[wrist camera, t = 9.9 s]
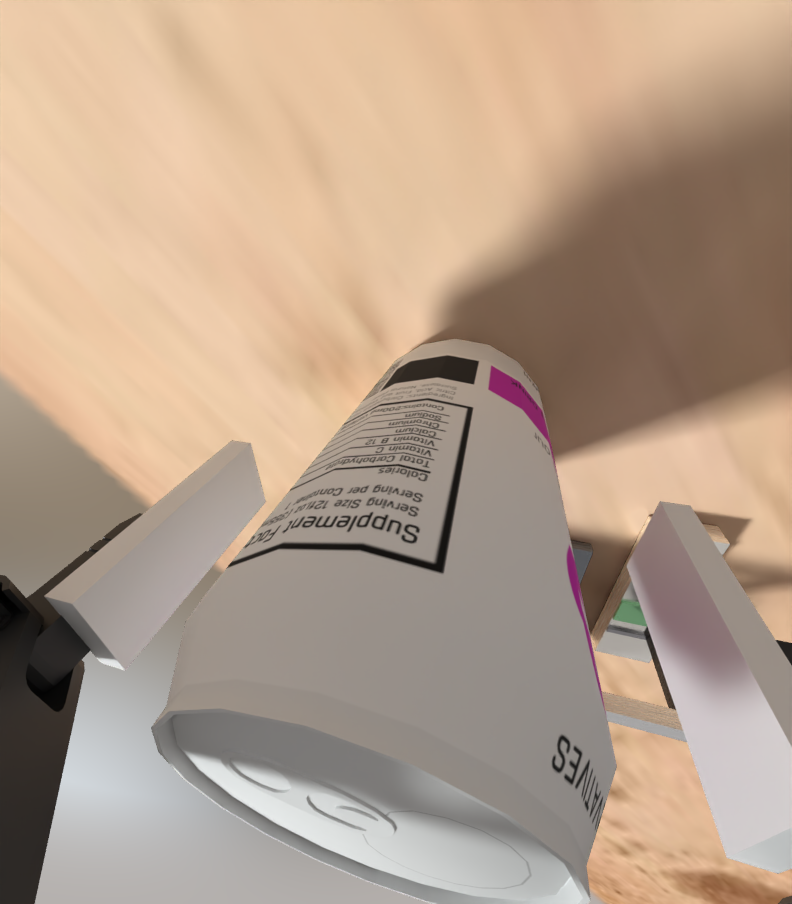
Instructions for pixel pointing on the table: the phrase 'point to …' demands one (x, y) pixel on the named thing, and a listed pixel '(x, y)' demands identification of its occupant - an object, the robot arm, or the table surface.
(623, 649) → the gauge housing
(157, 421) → the table surface
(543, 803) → the supplement can
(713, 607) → the robot arm
